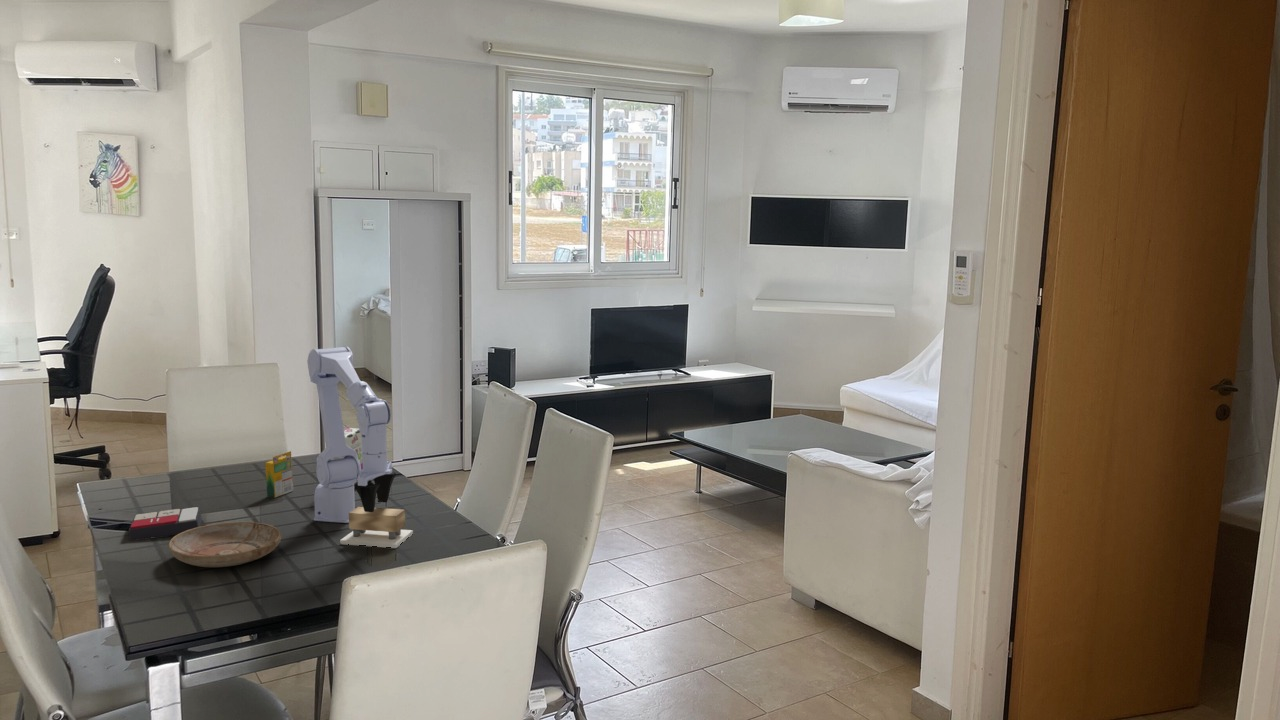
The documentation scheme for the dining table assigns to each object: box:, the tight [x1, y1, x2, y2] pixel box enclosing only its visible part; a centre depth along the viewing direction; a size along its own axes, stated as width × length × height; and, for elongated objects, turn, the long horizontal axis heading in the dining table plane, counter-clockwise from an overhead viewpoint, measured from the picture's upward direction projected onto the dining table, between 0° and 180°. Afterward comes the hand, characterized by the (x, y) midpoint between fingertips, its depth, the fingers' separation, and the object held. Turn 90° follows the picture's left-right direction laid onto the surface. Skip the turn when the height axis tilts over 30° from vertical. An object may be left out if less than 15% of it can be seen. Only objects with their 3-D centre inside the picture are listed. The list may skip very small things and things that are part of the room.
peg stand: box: [339, 529, 414, 549], centre depth 227 cm, size 14×10×3 cm
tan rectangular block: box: [348, 506, 406, 532], centre depth 227 cm, size 12×5×4 cm, turn 81°
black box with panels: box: [128, 506, 203, 541], centre depth 232 cm, size 11×4×15 cm
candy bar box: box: [330, 427, 363, 491], centre depth 267 cm, size 11×5×16 cm, turn 168°
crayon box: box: [265, 450, 294, 499], centre depth 262 cm, size 7×3×12 cm, turn 159°
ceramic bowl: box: [168, 521, 282, 568], centre depth 214 cm, size 23×24×5 cm
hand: (376, 506), depth 226 cm, fingers open, 7 cm apart
